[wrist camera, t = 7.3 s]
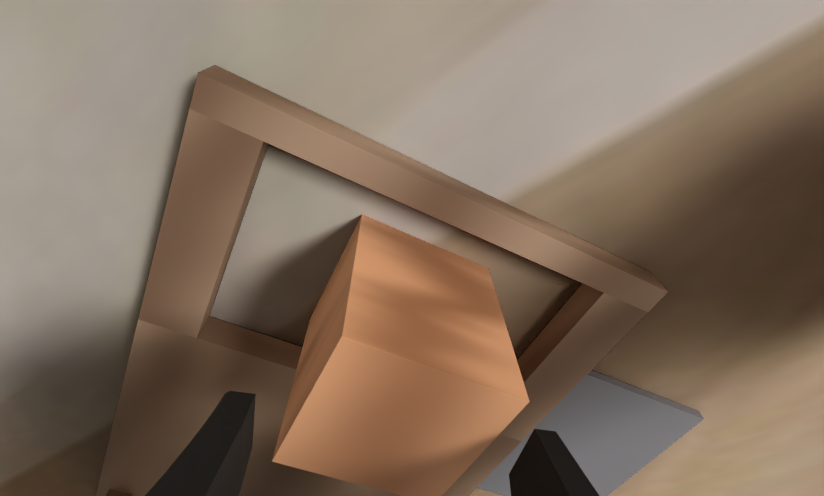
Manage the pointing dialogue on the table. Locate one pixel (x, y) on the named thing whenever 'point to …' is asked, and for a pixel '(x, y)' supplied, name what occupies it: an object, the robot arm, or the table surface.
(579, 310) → the brown wooden frame
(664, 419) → the mat
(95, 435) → the table surface
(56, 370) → the table surface
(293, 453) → the block
